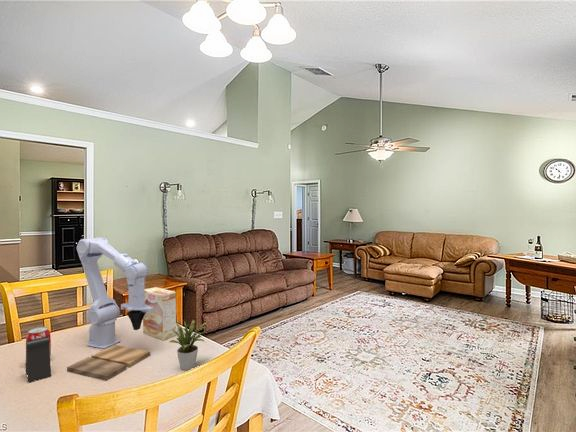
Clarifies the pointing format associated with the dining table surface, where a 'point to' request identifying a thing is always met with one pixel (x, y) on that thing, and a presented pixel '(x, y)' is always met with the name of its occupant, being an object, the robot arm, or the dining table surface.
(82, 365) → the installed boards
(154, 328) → the coffeecake box
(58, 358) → the dining table surface
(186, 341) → the house plant
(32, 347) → the phone stand
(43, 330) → the soda can
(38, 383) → the dining table surface
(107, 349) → the teak plank
